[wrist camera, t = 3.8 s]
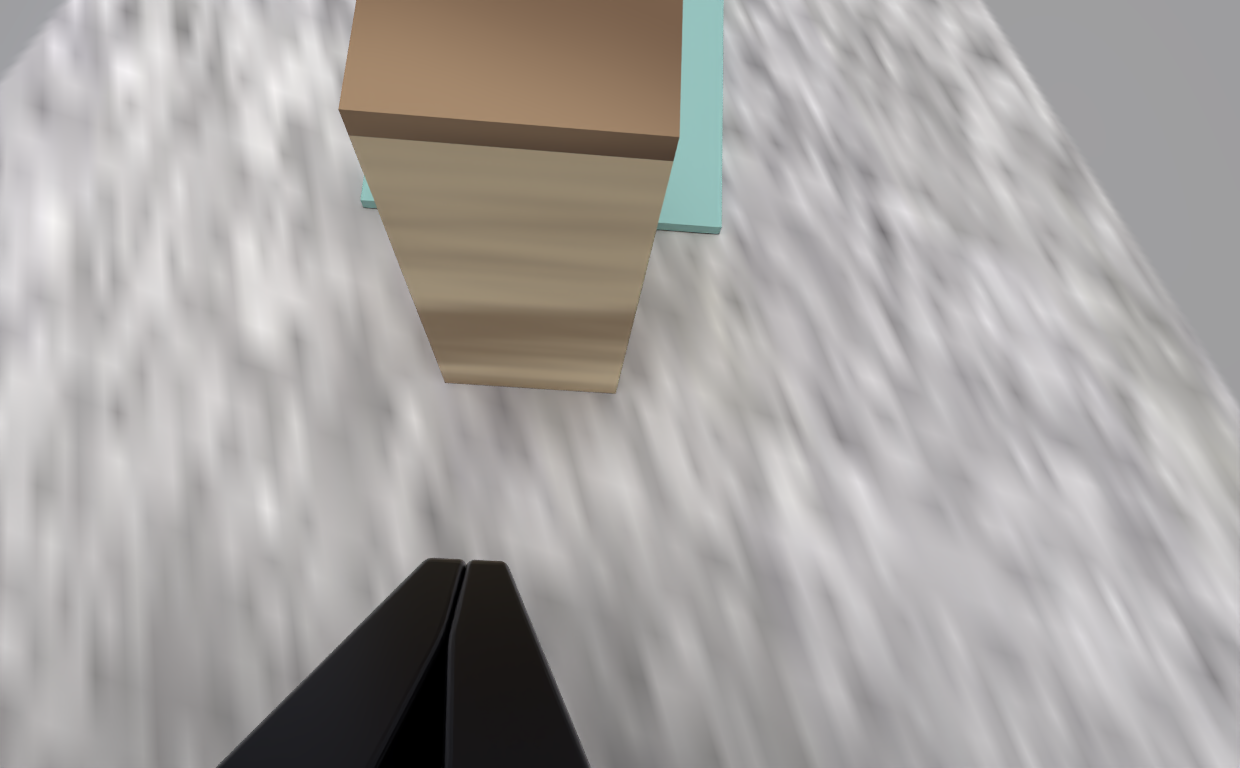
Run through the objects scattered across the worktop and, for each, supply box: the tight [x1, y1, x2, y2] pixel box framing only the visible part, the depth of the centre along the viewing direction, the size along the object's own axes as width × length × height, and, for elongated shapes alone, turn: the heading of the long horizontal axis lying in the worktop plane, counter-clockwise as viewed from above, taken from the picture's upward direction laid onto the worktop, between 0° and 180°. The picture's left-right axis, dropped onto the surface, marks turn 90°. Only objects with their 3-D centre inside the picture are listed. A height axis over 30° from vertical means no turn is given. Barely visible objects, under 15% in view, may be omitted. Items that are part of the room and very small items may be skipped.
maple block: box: [339, 0, 683, 393], centre depth 18 cm, size 4×4×12 cm
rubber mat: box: [361, 0, 723, 234], centre depth 26 cm, size 12×10×1 cm
